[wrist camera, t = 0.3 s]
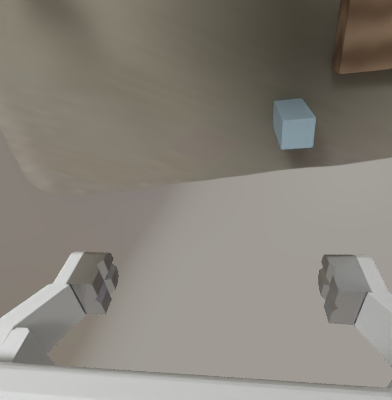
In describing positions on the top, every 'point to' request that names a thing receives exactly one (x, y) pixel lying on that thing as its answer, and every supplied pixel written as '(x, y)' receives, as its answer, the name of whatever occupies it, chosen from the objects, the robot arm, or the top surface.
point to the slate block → (293, 124)
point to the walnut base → (363, 36)
